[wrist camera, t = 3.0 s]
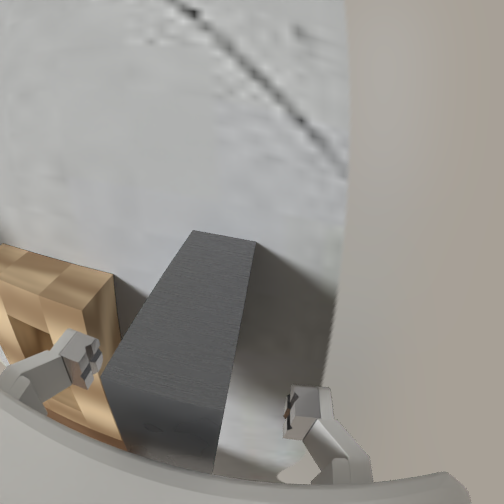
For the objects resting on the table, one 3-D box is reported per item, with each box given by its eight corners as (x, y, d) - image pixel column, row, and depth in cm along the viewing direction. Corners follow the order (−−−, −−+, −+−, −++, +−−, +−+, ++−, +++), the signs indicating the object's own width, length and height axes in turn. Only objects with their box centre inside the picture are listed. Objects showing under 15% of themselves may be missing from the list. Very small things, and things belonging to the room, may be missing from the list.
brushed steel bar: (192, 230, 14) (100, 377, 6) (256, 241, 14) (224, 410, 6) (186, 338, 17) (137, 472, 9) (235, 348, 17) (208, 491, 9)
